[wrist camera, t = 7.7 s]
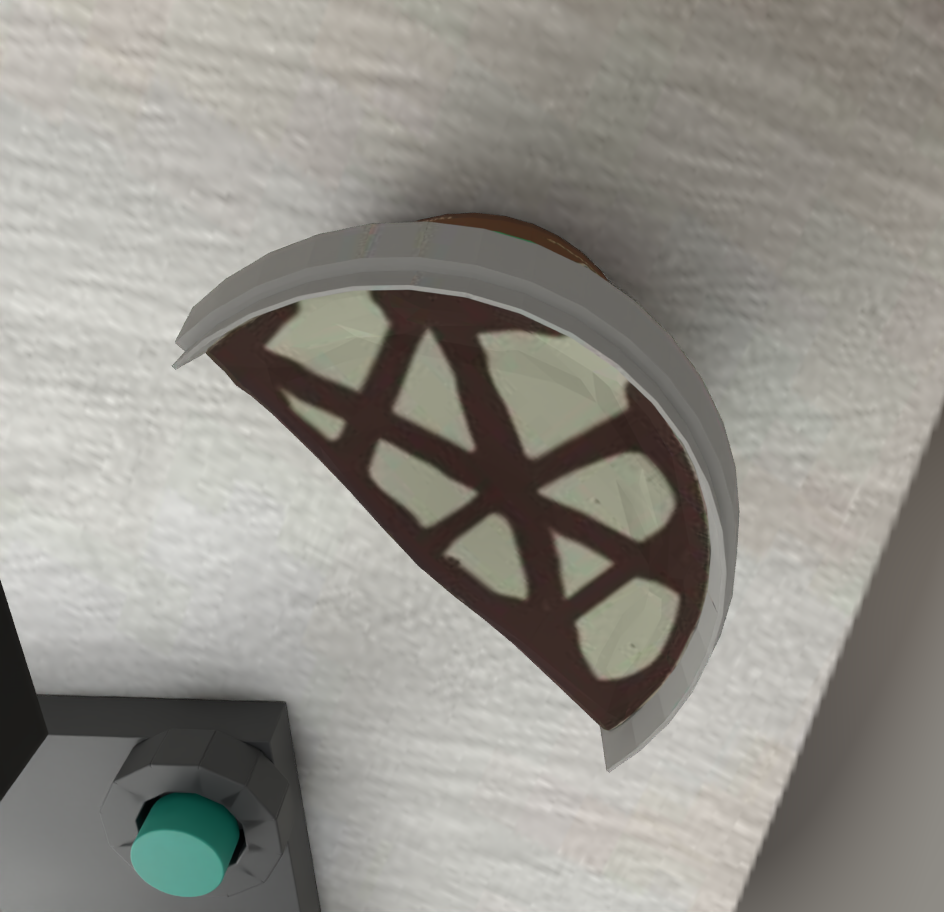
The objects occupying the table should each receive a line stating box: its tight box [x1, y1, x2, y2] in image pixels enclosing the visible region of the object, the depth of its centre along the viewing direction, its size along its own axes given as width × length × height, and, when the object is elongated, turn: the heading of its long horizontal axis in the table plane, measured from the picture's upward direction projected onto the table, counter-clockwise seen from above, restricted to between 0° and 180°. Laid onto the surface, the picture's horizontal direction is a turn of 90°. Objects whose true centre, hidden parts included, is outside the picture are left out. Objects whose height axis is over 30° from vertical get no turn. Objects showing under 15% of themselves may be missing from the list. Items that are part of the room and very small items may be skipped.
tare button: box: [131, 792, 239, 897], centre depth 29 cm, size 3×3×2 cm
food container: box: [172, 213, 739, 772], centre depth 20 cm, size 12×6×10 cm, turn 43°
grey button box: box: [0, 695, 320, 912], centre depth 33 cm, size 16×13×4 cm
